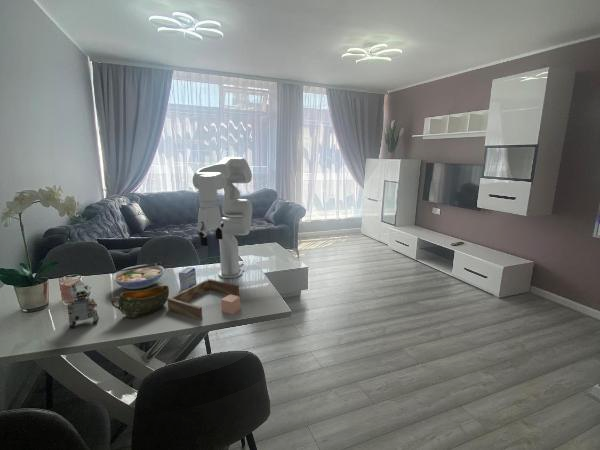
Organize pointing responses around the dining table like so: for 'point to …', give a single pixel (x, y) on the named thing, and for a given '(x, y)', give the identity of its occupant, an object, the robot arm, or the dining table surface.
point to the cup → (142, 301)
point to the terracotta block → (230, 304)
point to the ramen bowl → (138, 276)
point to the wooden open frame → (180, 299)
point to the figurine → (81, 305)
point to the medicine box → (187, 278)
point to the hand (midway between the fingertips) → (212, 242)
